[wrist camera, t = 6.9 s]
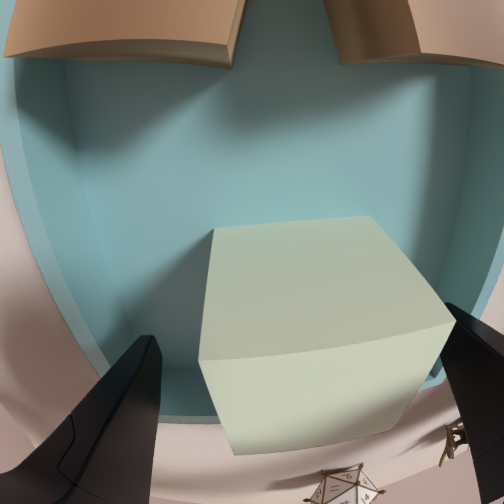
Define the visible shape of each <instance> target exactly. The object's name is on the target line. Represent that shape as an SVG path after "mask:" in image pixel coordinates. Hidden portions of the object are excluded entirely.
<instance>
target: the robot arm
mask: <svg viewBox="0 0 504 504" xmlns="http://www.w3.org/2000/svg"><path fill="white" fill-rule="evenodd" d="M444 304H445V306H446V307H447V309H448V310H449V311H450V313H451V314H452V315H453V317H454V318H455V320H456V322H455V324H454V326H453V329H452V331H451V333H450V335H449V337H448V339H447V341H446V343H445V345H444V347H443V349H442V351H441V352H440V354H439V355H440V359H441V362H442V365H443V368H444V371H445V373H446V376H447V379H448V381H449V384H450V387H451V389H452V392H453V395H454V398H455V401H456V404H457V407H458V410H459V413H460V416H461V419H462V422H463V426H464V429H465V432H466V436H467V439H468V443H469V447H470V451H471V455H472V459H473V464H474V468H475V472H476V477H477V482H478V487H479V493H480V499H481V504H489V503H491V502H493V501H495V500H497V499H499V498H501V497H503V496H504V335H503V334H501V333H499V332H498V331H496V330H495V329H493V328H491V327H490V326H488V325H487V324H485V323H483V322H482V321H480V320H479V319H477V318H475V317H474V316H472V315H470V314H469V313H467V312H465V311H464V310H462V309H460V308H459V307H457V306H455V305H454V304H452V303H450V302H444ZM162 362H163V357H162V352H161V350H160V347H159V345H158V342H157V340H156V338H155V336H154V335H140V336H139V337H138V338H137V339H136V340H135V341H134V343H133V344H132V345H131V346H130V347H129V348H128V349H127V350H126V351H125V352H124V353H123V355H122V356H121V357H120V358H119V359H118V360H117V361H116V362H115V363H114V364H113V366H112V367H111V368H110V369H109V370H108V371H107V372H106V373H105V374H104V376H103V377H102V378H101V379H100V380H99V381H98V382H97V383H96V384H95V386H94V387H93V388H92V389H91V390H90V391H89V392H88V394H87V395H86V396H85V397H84V398H83V399H82V400H81V401H80V403H79V404H78V405H77V406H76V407H75V408H74V409H73V411H72V412H71V414H69V415H68V416H67V417H66V418H65V420H64V421H63V422H62V423H61V424H60V425H59V426H58V427H57V428H56V430H55V431H54V432H53V433H52V434H51V435H50V436H49V437H48V438H47V439H46V440H45V441H44V442H43V443H42V444H41V445H40V446H39V447H37V448H36V449H35V450H34V451H33V452H32V453H31V454H30V455H29V456H28V457H27V458H26V459H25V460H24V461H22V463H21V464H19V465H18V466H17V467H15V468H14V469H12V470H10V471H8V472H5V473H1V474H0V504H149V496H150V485H151V475H152V466H153V457H154V448H155V441H156V433H157V426H158V419H159V412H160V404H161V382H162ZM503 504H504V502H503Z"/></svg>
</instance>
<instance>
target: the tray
mask: <svg viewBox="0 0 504 504" xmlns="http://www.w3.org/2000/svg"><path fill="white" fill-rule="evenodd" d="M15 3H16V0H0V142H1V148H2V153H3V158H4V162H5V167H6V171H7V175H8V179H9V183H10V187H11V190H12V194H13V197H14V201H15V204H16V207H17V211H18V214H19V217H20V220H21V223H22V226H23V229H24V231H25V234H26V237H27V240H28V242H29V245H30V247H31V250H32V252H33V255H34V257H35V260H36V262H37V265H38V267H39V269H40V271H41V274H42V276H43V278H44V280H45V282H46V285H47V287H48V289H49V291H50V293H51V295H52V297H53V299H54V301H55V303H56V305H57V307H58V309H59V311H60V313H61V314H62V316H63V318H64V320H65V322H66V324H67V325H68V327H69V329H70V331H71V332H72V334H73V336H74V338H75V339H76V341H77V343H78V344H79V346H80V347H81V349H82V351H83V352H84V354H85V355H86V357H87V359H88V360H89V362H90V363H91V365H92V366H93V368H94V369H95V371H96V372H97V374H98V375H99V377H100V378H102V377H103V376H104V374H105V373H106V372H107V371H108V370H109V369H110V368H111V367H112V366H113V364H114V363H115V362H116V361H117V360H118V359H119V358H120V357H121V356H122V355H123V353H124V352H125V351H126V350H127V349H128V348H129V347H130V346H131V345H132V344H133V343H134V341H135V340H136V339H137V338H138V337H139V336H140V335H154V336H155V338H156V340H157V342H158V345H159V347H160V350H161V352H162V357H163V362H162V382H161V404H160V412H159V419H158V423H175V424H221V422H220V419H219V417H218V414H217V411H216V409H215V406H214V404H213V401H212V398H211V396H210V393H209V390H208V387H207V385H206V382H205V379H204V376H203V373H202V371H201V368H200V365H199V362H198V357H199V347H200V338H201V328H202V319H203V310H204V302H205V293H206V285H207V277H208V270H209V262H210V254H211V247H212V240H213V233H214V228H221V227H232V226H242V225H253V224H265V223H277V222H289V221H301V220H314V219H328V218H342V217H357V216H371V217H372V218H373V219H374V221H375V222H376V223H377V224H378V225H379V226H380V227H381V228H382V229H383V230H384V231H385V233H386V234H387V235H388V236H389V237H390V238H391V239H392V240H393V242H394V243H395V244H396V245H397V246H398V247H399V248H400V250H401V251H402V252H403V253H404V254H405V255H406V257H407V258H408V259H409V260H410V261H411V263H412V264H413V265H414V266H415V267H416V269H417V270H418V271H419V272H420V274H421V275H422V276H423V277H424V278H425V280H426V281H427V282H428V284H429V285H430V286H431V287H432V289H433V290H434V291H435V293H436V294H437V295H438V296H439V298H440V299H441V300H442V302H443V303H444V302H450V303H452V304H454V305H455V306H457V307H459V308H460V309H462V310H464V311H465V312H467V313H469V314H470V315H472V316H474V317H475V318H477V319H480V317H481V315H482V313H483V311H484V309H485V307H486V305H487V302H488V300H489V298H490V296H491V293H492V291H493V289H494V286H495V284H496V282H497V279H498V277H499V274H500V272H501V269H502V266H503V264H504V69H501V68H492V67H480V66H464V65H441V64H426V63H365V64H349V65H340V63H339V58H338V54H337V50H336V46H335V42H334V38H333V35H332V31H331V27H330V24H329V20H328V17H327V13H326V10H325V7H324V4H323V0H248V3H247V7H246V11H245V15H244V19H243V23H242V27H241V31H240V35H239V39H238V44H237V48H236V52H235V57H234V61H233V66H232V70H230V69H224V68H217V67H209V66H200V65H190V64H179V63H163V62H96V63H94V62H86V61H77V60H66V59H52V58H22V57H15V58H3V54H4V48H5V43H6V38H7V34H8V29H9V25H10V21H11V17H12V14H13V10H14V7H15ZM445 378H446V373H445V371H444V368H443V365H442V362H441V359H440V355H439V356H438V358H437V360H436V362H435V363H434V365H433V367H432V369H431V371H430V372H429V374H428V376H427V377H426V379H425V381H424V382H423V384H422V386H421V387H420V389H419V390H418V391H421V390H424V389H427V388H430V387H433V386H436V385H439V384H441V383H442V382H443V381H444V379H445Z"/></svg>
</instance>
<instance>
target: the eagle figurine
mask: <svg viewBox="0 0 504 504" xmlns="http://www.w3.org/2000/svg"><path fill="white" fill-rule="evenodd" d="M456 428H457V430H452V428H450V426H449V425H446V430H447V440H446V446H445V449H444V452H443V454H442V456H441V459H440V462H439V467H441V465H442V462H443V460H444V459H445V456H446V453H447V456H448V458H450V459H454V451H455V450H456V449H457V447H458V446H459V445H462V444H468V452H469V449H470V447H469V443H468V439H467V436H466V432H465V429H464V426H463V425H461V426H456ZM453 434H456V435H459V436H460V438H461V439H460V440H458V441H456V442H455V441H454V438H455V436H453ZM453 447H454V448H455V449H454V451H453Z"/></svg>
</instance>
